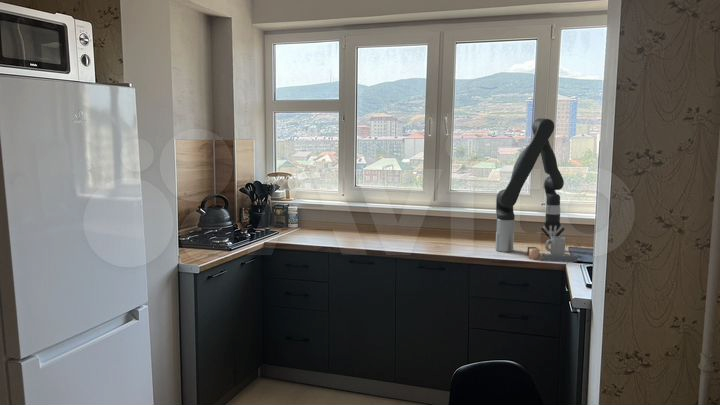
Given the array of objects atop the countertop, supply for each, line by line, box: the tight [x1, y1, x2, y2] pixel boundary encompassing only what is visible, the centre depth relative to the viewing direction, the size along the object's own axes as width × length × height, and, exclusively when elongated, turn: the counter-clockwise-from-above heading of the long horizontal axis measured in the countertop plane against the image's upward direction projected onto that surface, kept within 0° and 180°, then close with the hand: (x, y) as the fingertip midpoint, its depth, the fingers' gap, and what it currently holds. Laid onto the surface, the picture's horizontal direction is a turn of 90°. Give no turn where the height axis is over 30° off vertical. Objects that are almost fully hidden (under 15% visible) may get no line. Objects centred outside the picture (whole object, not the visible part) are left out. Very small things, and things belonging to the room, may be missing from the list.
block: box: [527, 246, 539, 256], centre depth 277 cm, size 4×4×4 cm
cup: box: [544, 235, 566, 255], centre depth 280 cm, size 7×10×9 cm
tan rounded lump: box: [528, 247, 541, 261], centre depth 269 cm, size 5×5×5 cm
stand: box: [541, 252, 578, 263], centre depth 265 cm, size 16×4×3 cm, turn 80°
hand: (551, 244), depth 291 cm, fingers closed
